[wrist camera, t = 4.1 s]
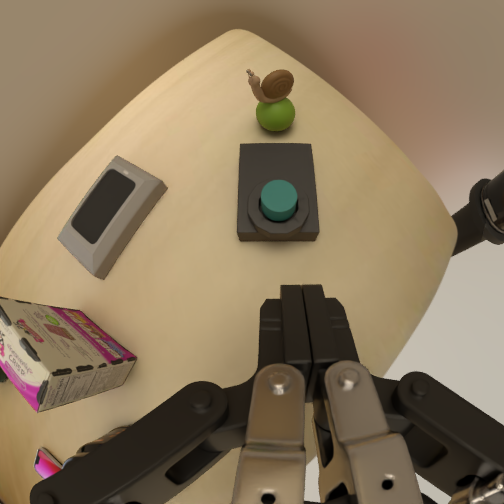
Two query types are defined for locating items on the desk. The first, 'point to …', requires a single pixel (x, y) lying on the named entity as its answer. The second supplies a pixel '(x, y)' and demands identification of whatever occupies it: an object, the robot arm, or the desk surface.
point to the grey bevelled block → (110, 215)
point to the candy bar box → (58, 354)
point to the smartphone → (46, 464)
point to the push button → (278, 200)
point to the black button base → (264, 171)
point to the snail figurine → (273, 99)
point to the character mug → (2, 375)
